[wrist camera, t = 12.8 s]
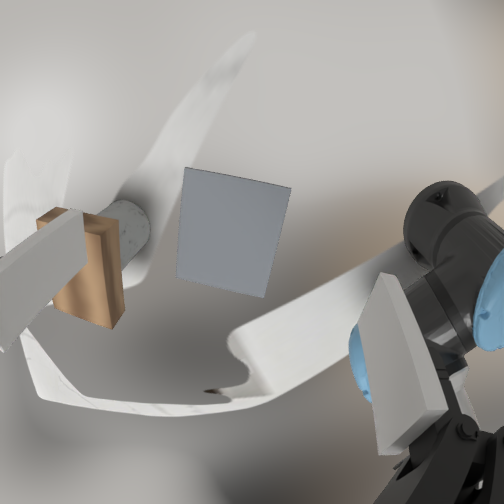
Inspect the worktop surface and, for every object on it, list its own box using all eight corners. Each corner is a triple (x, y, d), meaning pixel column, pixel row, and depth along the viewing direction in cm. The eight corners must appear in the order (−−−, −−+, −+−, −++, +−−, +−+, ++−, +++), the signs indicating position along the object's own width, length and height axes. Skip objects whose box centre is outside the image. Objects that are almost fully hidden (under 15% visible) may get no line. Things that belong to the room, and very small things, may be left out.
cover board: (118, 219, 35) (100, 235, 31) (125, 310, 43) (112, 329, 39) (56, 206, 35) (35, 219, 31) (69, 291, 43) (54, 308, 39)
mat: (291, 188, 43) (291, 189, 43) (264, 296, 53) (263, 298, 53) (185, 167, 44) (184, 167, 43) (176, 276, 53) (175, 277, 53)
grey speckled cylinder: (118, 254, 53) (83, 292, 42) (96, 209, 49) (55, 239, 38) (159, 243, 51) (127, 283, 40) (136, 192, 46) (96, 222, 36)
